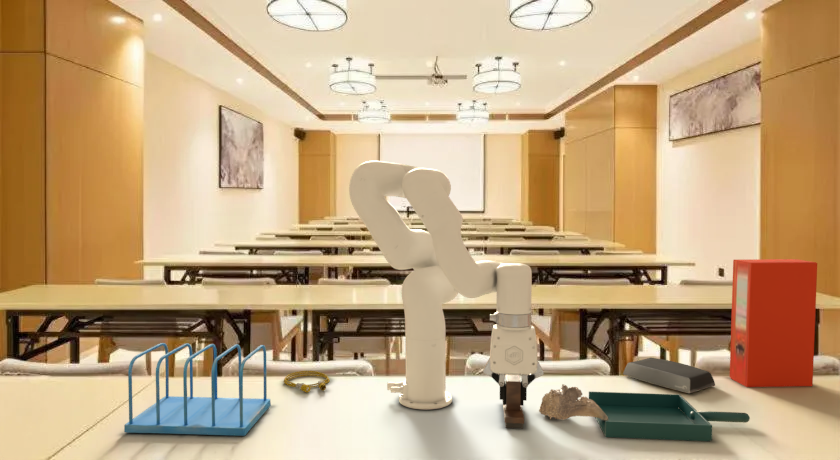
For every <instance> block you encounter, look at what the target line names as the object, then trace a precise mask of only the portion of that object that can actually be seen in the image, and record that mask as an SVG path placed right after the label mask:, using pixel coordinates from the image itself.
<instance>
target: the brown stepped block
mask: <svg viewBox="0 0 840 460" xmlns="http://www.w3.org/2000/svg"><path fill="white" fill-rule="evenodd" d="M521 381H522V380H521V375H520V374H505V383H506V404H505V405H503V404H502V409H503V419H504V426H505V429H516V430H517V429H518V430H523V429H524V424H525V416H524V410H523V406H522V405H520V402H521Z"/></svg>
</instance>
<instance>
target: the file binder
mask: <svg viewBox="0 0 840 460" xmlns="http://www.w3.org/2000/svg"><path fill="white" fill-rule="evenodd" d="M817 281H818V262H817V261H810V260H804V259H797V258H796V259H795V258H792V259H790V258H789V259H787V258H783V259H779V258H778V259H776V258H775V259H774V258H773V259H770V258H768V259H766V258H765V259H763V258H762V259H761V258H759V259H757V258H756V259H754V258H753V259H733V260H732V285H731V286H732V287H731V288H732V291H731V317H730V319H731V321H730V322H731V323H730V349H729V350H730V352H729V359H730V360H729V378H730V379H731V380H733V381H735V382H736V383H738V384H740V385H742V386H744V387H746V388H763V387H764V388H769V387H770V388H771V387H772V388H773V387H777V388H778V387H780V388H781V387H784V388H785V387H812V386H813V382H814V362H815V361H814V358H815V334H816V331H815V330H816V308H817V283H818V282H817Z"/></svg>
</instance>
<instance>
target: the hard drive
mask: <svg viewBox="0 0 840 460" xmlns="http://www.w3.org/2000/svg"><path fill="white" fill-rule="evenodd" d="M622 375H624V376H626V377H630V378H632V379H636V380H639V381H642V382H645V383H647V384H648V383H649V384H652V385H654V386H659V387H662V388H667V389H670V390H674V391H678V392H681V393H686V394H692V393H696V392H699V391H702V390H706V389H709V388H711V387H714V386H716V383H715V379H714V377H713V375H712V373H711V372H710V371H707V370H704V369H702V368H699V367H695V366H692V365H688V364H686V363H680V362H677V361H672V360H667V359H663V358H657V357H647V358H643V359H641V360H640V359H639V360H635V361H631V362H630V361H629V362H627V364H626V366H625V367H624V370H623V372H622Z"/></svg>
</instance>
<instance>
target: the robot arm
mask: <svg viewBox="0 0 840 460" xmlns="http://www.w3.org/2000/svg"><path fill="white" fill-rule="evenodd" d="M451 190H452V185H451V181H450V179H449V177H448V176H447V174H446V173H444V172H443V171H442V170H439V169H435V168H427V167H419V166H414V165H410V164H403V163H398V162H389V161H384V160H369V161H368V160H367V161H365V162H362V163H360V164H359V165H357V166H356V168H355V169H354V171H353V172H352V174H351V176H350V181H349V187H348V191H349V198H350V202H351V205H352V207H353V209H354V210H355V211H354V212H356V214H357V216H358V217H359V219H360V220H361V221H362V223H363V224H364V226H365V227H366V229H367V231H368V232H369V234H370V236H371V237H372V239H373V241H374V243H375V244H376V245H377V247H378V249H379V250H380V253H382V256H383V257H384V259H385V260H386V263H388V264H389V266H390V267H391V268H393V269H394V270H399V271H404V270H411V269H413V271H411V272H410V273H409V274H408V275H407V276H406V277H405V278H404V280H403V282H402V285H401V301H402V305H403V312H404V323H405V324H404V335H405V378H404V380H402V381H400V382H396V381H395V382H394V381H388V382H387V383H386V384H387V385H386V390H387V391H390V393H394V394H396V393H397V394H398V393H400V394H399V396H398V402H399V404H401V406H404V407H406V408H409V409H414V410H423V411H424V410H427V411H428V410H438V409H442V408H445V407H448V406H449V405H450V404H451V403H452V402H453V395H452V394H451V393H450V392H448V391H446V388H447V387H446V383H447V382H446V381H447V380H446V379H447V378H446V375H447V373H446V367H447V366H446V363H447V362H446V359H447V357H446V356H447V355H446V354H447V353H446V352H447V351H446V350H447V348H446V346H447V341H446V340H447V339H446V337H447V335H446V333H447V332H446V331H447V329H446V328H447V327H446V319H445V318H446V317H445V314H444V310H443V305H445V304H446V303H449V302H451V301H452V300H454V299H455V298H456V297H457V296H458V294H459V295H461V296H463V297H465V298H467V299H475V298H480V297H482V296H485V295H489V294H493V293H496V312H494V313H493V314H491V313H490V314H489V321H493V322H494V323H496V324H493V326H492V329H491V336H490V337H491V338H490V347H489V350H490V351H489V358H488V359H487V361H486V363H485V365H484V366H483V368H482V372H483V373H484V374H485V375H487V376H488V377H490V378H492V379H493V380H494V381H495V382H496V383H497V385H498V386H499V400H501V401H502V406H503V405H505V404H506V375H520V379H521V380H520V381H521V402H520V405H522V407H523V406H524V402H525V401H527V395H528V394H527V389H528V387H529V385H530V384H531V383H532V382H533V381H535V380H536V379H538V378H540V377H542V376H543V375H545V372H544V369H543V368H542V366H541V364H540V362H539V360H538V342H537V333H536V328H535V326H534V325H532V289H533V287H532V286H533V285H532V284H533V283H532V279H533V277H532V276H533V272H532V268H531V266H530V265H528V264H526V263H518V262H506V263H505V262H500V261H499V262H498V261H493V260H488V259H487V260H486V259H483V260H478V261H475V259H474V258H473V257H472V255H471V253H470V252H469V250H468V249H467V247H466V245H465V243H464V241H463V238H462V226H463V221H464V217H463V214H462V213H461V212H460V210H459V209H458V207H457V206H456V205H455V203H454V202H453V200H452V199H451V198H450V194H451ZM386 197H396V198H401V199H402V198H403V199H406V200H407V201H408V203H409V205H410V206H411V208H412V209H413V211H414V213H416V215H417V217H418V218H419V220H420V221H421V223H422V225H423V226H424V227H425V229H426V230H424V229H418V228H417V229H416V228H415V229H412V228H410V227H409V226H408V225H407V224H406V222H405V221H404V219H403V218H402V216H401V215H400V214H401V213H399V211H398V210H397V209H396V208H395V207H394V205H392V204H391V203H390V201H389V200H388V199H387V198H386Z"/></svg>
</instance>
